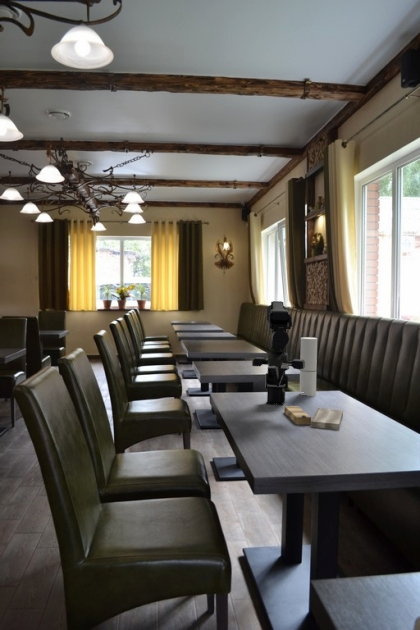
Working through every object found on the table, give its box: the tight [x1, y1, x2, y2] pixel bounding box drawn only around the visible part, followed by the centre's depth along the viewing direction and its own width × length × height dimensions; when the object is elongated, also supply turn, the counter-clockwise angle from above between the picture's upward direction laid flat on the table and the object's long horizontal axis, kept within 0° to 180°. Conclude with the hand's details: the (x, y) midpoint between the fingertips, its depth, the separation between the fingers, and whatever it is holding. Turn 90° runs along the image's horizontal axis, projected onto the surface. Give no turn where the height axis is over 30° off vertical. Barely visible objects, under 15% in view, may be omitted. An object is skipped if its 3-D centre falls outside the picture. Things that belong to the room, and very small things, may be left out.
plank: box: [283, 405, 312, 425], centre depth 167 cm, size 17×5×3 cm, turn 6°
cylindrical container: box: [299, 336, 318, 397], centre depth 208 cm, size 7×7×25 cm
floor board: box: [310, 407, 344, 430], centre depth 165 cm, size 9×20×2 cm, turn 161°
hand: (278, 386), depth 174 cm, fingers closed
